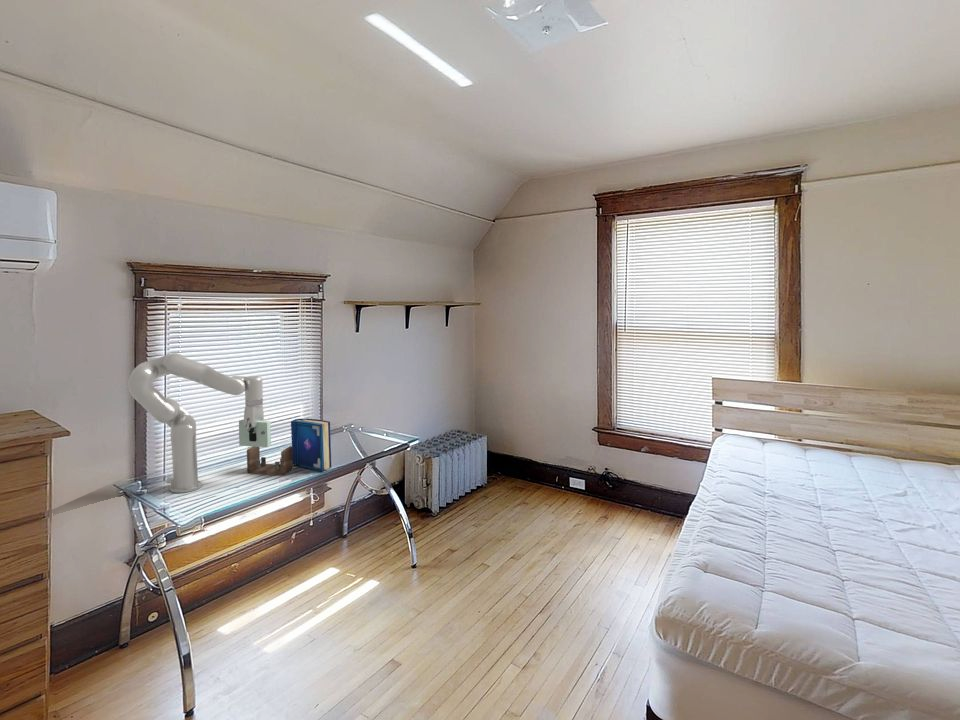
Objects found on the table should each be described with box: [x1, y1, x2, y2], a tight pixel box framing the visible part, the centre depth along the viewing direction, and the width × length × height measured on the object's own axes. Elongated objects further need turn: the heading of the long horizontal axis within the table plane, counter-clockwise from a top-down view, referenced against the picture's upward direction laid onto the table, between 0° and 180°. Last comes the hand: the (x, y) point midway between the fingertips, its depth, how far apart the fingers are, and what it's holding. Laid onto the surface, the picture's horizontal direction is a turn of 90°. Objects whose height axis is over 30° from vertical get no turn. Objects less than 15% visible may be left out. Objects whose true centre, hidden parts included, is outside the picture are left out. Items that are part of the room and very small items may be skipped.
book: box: [290, 418, 332, 472], centre depth 249 cm, size 22×7×25 cm, turn 67°
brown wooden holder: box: [246, 445, 294, 476], centre depth 242 cm, size 19×9×12 cm, turn 86°
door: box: [238, 419, 272, 448], centre depth 230 cm, size 14×4×12 cm, turn 86°
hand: (254, 439), depth 231 cm, fingers closed on door, 3 cm apart
